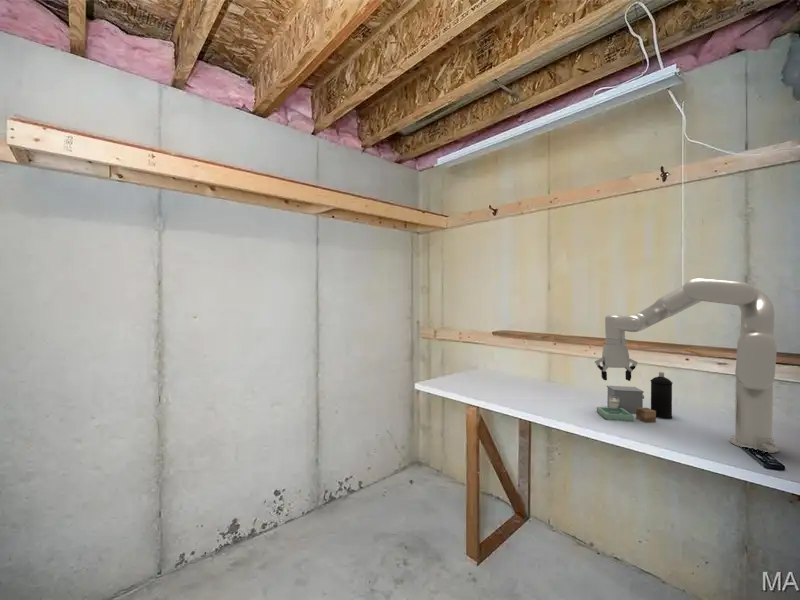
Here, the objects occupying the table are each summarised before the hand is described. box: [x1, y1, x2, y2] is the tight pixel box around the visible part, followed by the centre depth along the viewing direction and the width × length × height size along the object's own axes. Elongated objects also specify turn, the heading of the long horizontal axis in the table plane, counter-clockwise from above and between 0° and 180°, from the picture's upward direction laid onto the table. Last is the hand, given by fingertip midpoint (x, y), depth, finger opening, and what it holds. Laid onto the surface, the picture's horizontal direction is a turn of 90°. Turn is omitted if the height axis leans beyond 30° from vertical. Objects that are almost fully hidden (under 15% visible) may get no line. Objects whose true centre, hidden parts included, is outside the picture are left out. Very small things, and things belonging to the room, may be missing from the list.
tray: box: [596, 406, 635, 422], centre depth 158 cm, size 11×11×2 cm
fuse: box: [609, 396, 620, 414], centre depth 158 cm, size 4×4×9 cm
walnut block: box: [635, 407, 657, 424], centre depth 153 cm, size 5×5×5 cm
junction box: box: [606, 385, 645, 414], centre depth 167 cm, size 9×14×11 cm, turn 80°
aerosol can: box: [650, 371, 674, 420], centre depth 159 cm, size 8×8×20 cm
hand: (616, 380), depth 158 cm, fingers open, 9 cm apart
